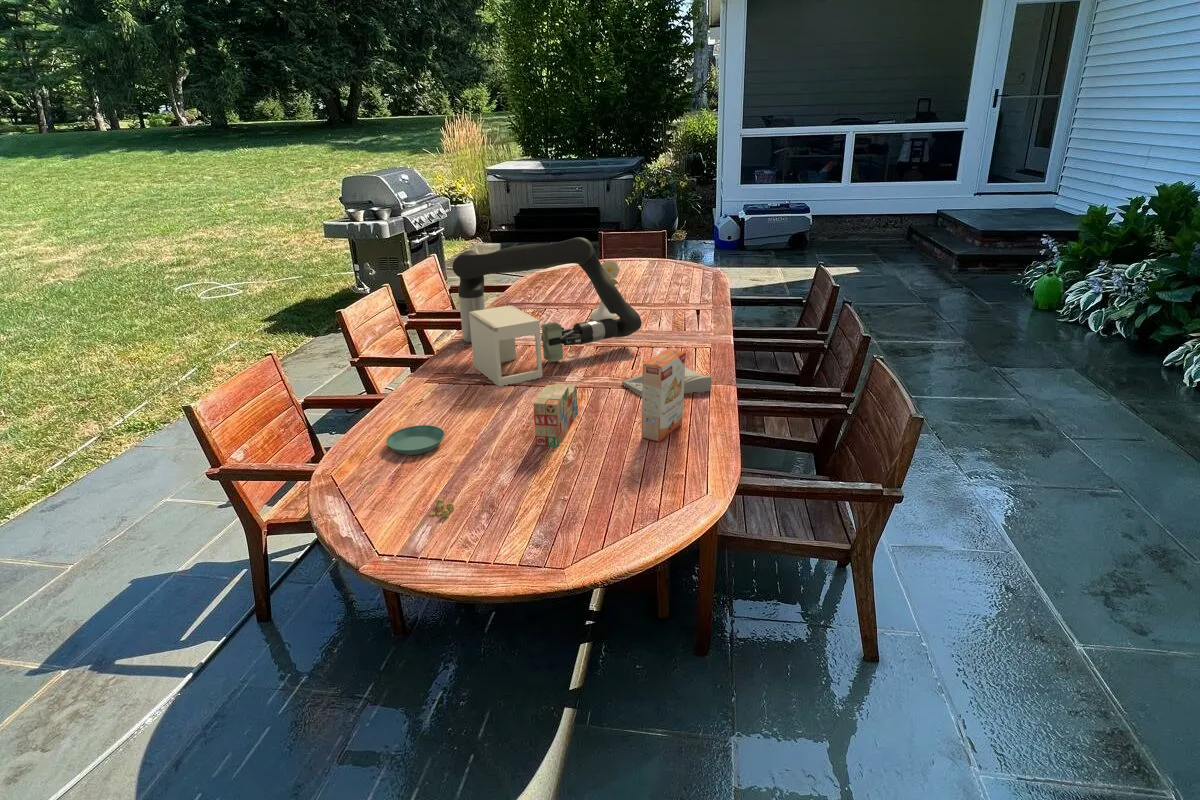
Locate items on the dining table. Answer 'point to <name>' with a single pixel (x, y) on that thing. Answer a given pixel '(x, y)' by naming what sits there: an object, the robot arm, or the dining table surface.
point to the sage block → (548, 333)
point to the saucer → (415, 439)
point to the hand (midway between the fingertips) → (545, 340)
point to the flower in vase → (601, 311)
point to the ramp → (691, 382)
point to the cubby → (502, 341)
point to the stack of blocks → (554, 413)
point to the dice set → (441, 508)
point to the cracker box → (663, 394)
